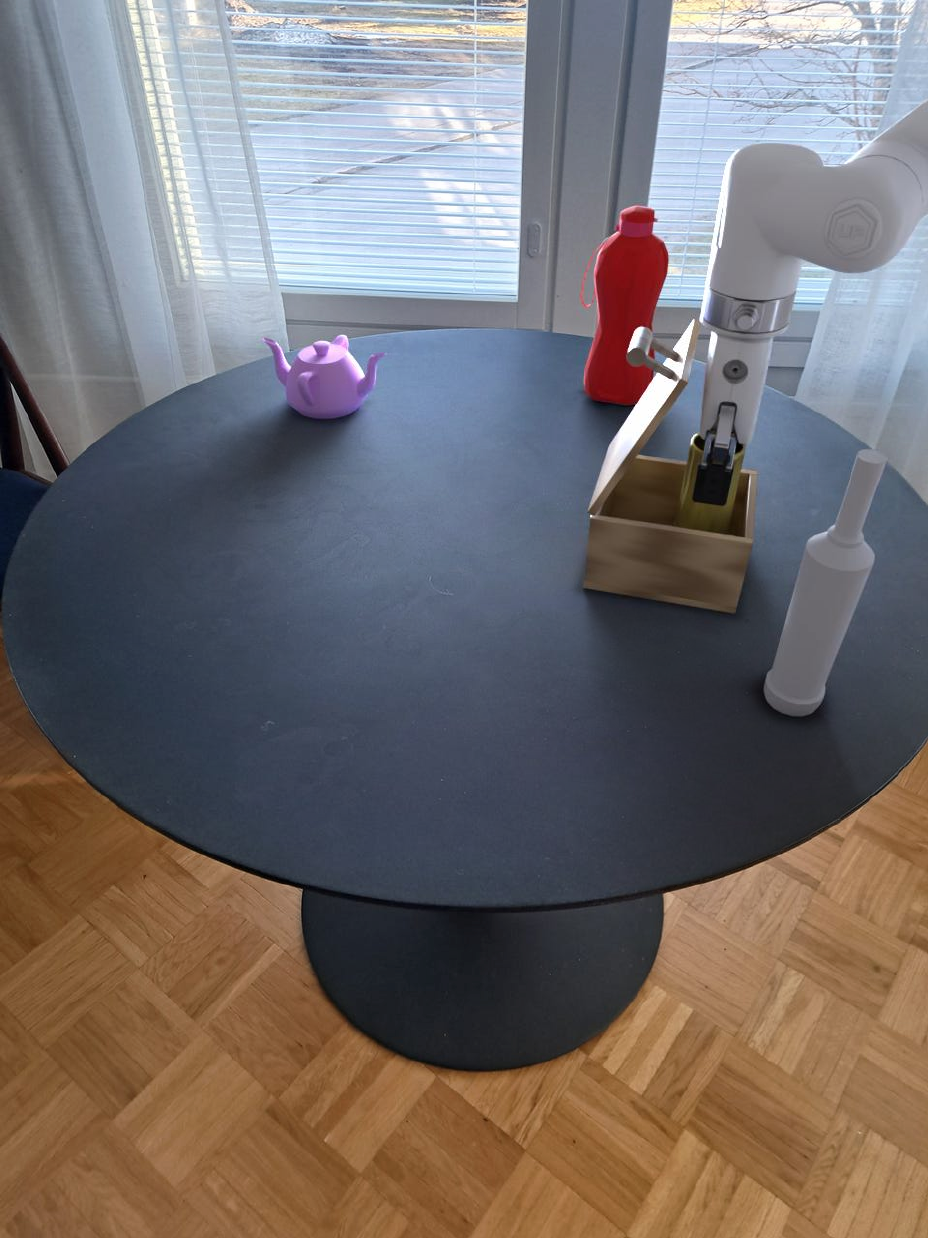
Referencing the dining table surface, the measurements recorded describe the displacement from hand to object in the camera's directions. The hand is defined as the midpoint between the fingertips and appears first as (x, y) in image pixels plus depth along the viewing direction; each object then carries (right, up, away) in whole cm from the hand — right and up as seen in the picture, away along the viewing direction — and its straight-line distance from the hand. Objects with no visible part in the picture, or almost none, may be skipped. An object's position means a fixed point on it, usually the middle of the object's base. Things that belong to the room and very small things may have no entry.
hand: (712, 476), depth 87 cm
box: (-3, -8, +8) cm, 12 cm away
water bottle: (-4, +18, +39) cm, 43 cm away
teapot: (-44, +16, +37) cm, 60 cm away
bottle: (+5, -22, -7) cm, 23 cm away
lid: (-7, +5, -2) cm, 9 cm away
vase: (0, -8, +7) cm, 11 cm away
